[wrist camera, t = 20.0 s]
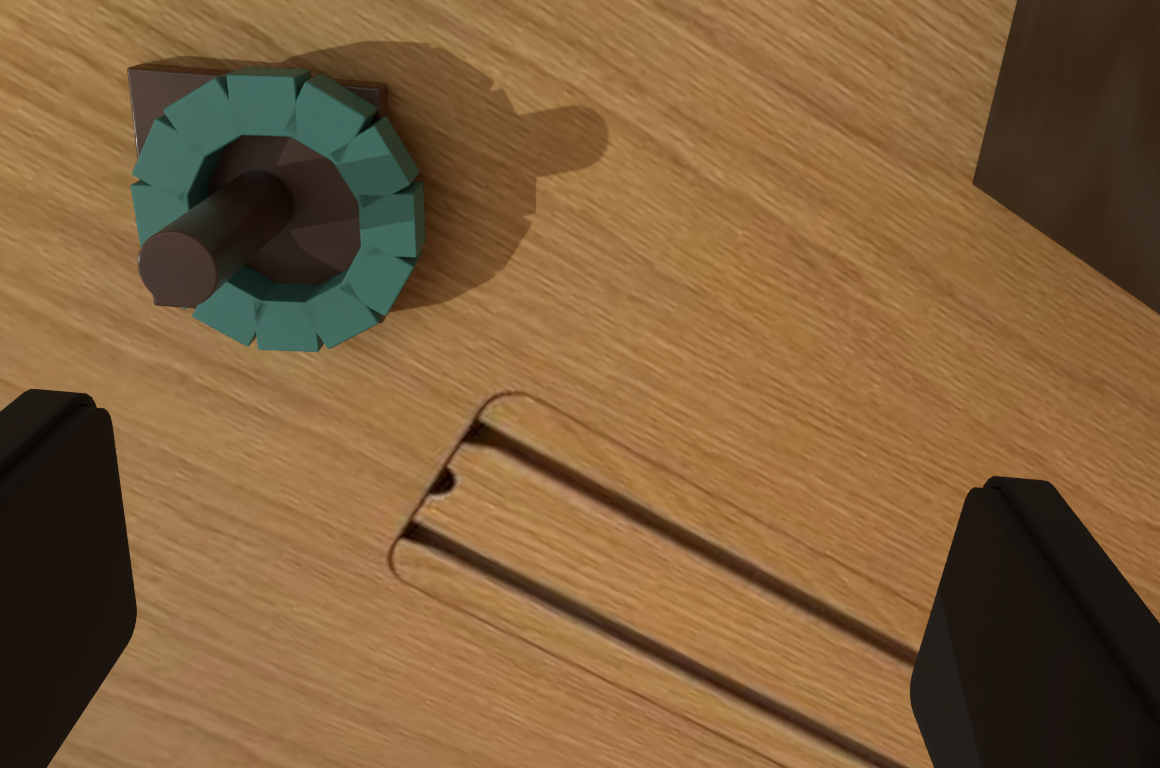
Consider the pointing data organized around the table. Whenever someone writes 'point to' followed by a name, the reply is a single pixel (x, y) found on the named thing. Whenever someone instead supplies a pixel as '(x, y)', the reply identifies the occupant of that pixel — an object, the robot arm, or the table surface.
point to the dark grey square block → (1082, 133)
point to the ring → (331, 128)
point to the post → (248, 203)
